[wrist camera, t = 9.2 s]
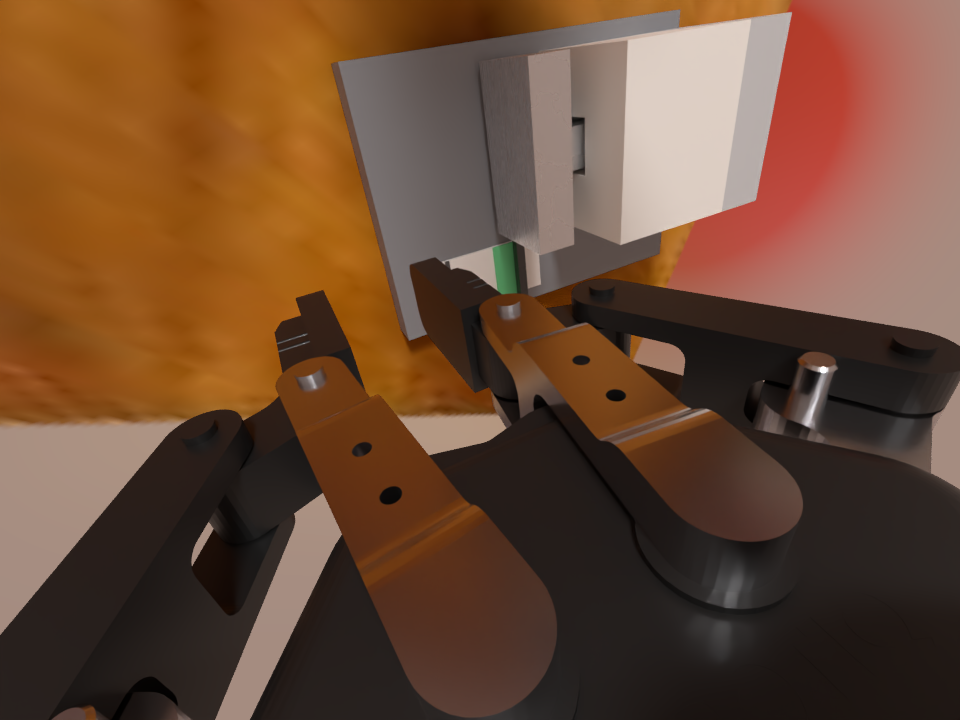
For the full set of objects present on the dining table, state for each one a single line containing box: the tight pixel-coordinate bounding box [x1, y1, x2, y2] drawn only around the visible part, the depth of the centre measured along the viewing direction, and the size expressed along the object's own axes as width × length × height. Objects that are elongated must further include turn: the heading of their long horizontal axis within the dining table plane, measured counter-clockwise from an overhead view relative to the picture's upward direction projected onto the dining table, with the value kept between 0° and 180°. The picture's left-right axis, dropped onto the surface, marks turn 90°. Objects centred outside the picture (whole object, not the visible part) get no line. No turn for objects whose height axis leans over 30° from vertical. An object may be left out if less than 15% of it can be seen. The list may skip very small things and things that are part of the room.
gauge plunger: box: [479, 49, 585, 295], centre depth 30 cm, size 16×11×6 cm
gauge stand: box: [331, 10, 792, 341], centre depth 30 cm, size 17×23×10 cm
